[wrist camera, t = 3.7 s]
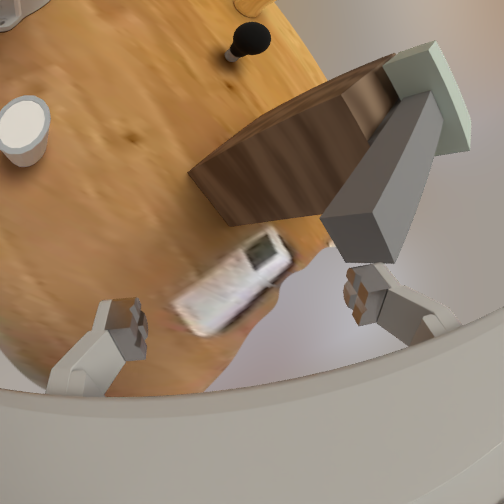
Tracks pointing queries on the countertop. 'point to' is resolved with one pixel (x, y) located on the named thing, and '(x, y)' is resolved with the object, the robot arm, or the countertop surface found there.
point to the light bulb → (248, 41)
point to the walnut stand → (299, 149)
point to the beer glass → (251, 6)
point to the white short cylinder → (24, 130)
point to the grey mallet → (399, 158)
